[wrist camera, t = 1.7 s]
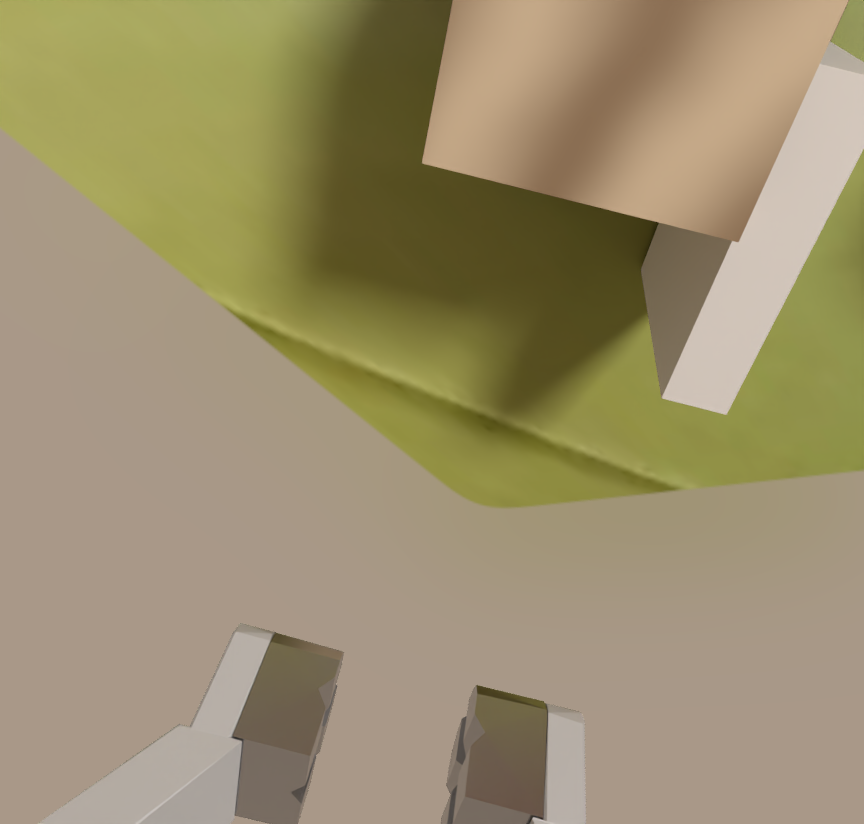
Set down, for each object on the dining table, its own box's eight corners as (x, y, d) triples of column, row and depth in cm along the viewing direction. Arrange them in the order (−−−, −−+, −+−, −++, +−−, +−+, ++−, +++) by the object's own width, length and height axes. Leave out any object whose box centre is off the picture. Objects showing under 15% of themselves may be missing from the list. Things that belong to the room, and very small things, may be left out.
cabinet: (441, 218, 39) (385, 354, 28) (561, -342, 27) (549, -506, 16) (738, 292, 39) (803, 460, 28) (990, -240, 27) (1289, -331, 16)
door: (640, 269, 39) (661, 398, 29) (741, 8, 32) (812, 62, 22) (707, 286, 39) (751, 420, 29) (822, 28, 32) (929, 91, 22)
